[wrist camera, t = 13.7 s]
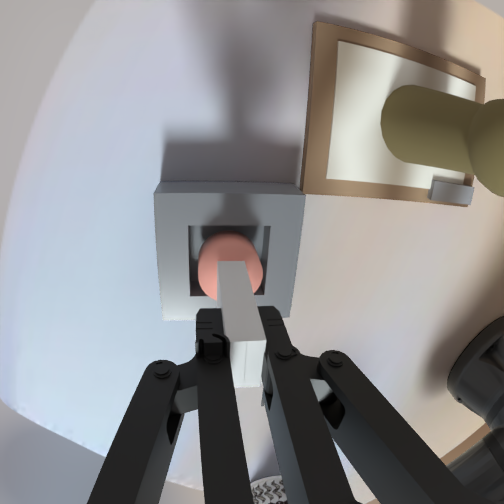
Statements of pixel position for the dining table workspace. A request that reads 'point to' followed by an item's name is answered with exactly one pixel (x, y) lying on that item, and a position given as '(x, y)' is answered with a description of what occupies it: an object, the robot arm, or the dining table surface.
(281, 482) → the decorative candle
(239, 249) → the button
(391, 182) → the clipboard
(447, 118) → the pepper shaker
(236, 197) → the button housing
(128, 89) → the dining table surface
